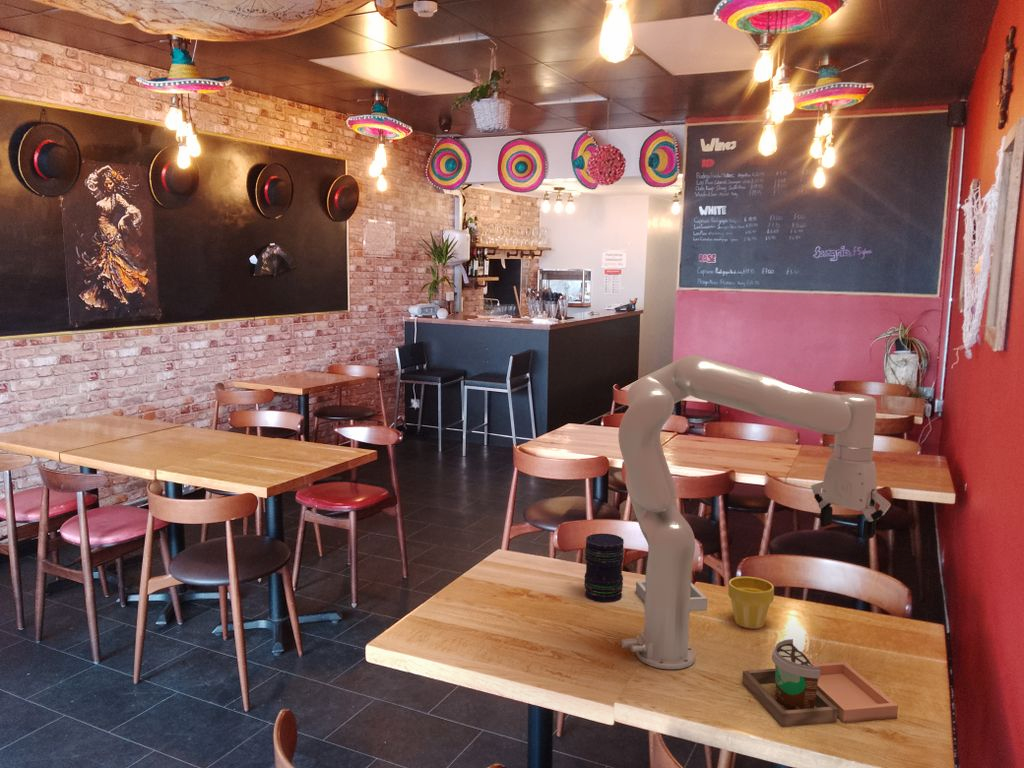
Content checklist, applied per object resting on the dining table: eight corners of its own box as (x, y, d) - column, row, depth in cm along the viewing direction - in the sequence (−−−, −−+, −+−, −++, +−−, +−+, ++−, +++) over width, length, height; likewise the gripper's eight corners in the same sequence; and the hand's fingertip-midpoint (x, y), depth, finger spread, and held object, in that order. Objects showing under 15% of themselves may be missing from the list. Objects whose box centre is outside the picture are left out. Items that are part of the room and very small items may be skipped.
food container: (759, 685, 157) (761, 638, 156) (788, 684, 157) (791, 637, 156) (785, 719, 145) (788, 669, 143) (817, 718, 145) (820, 668, 144)
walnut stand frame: (781, 726, 142) (782, 714, 142) (742, 682, 158) (742, 670, 158) (836, 721, 144) (837, 709, 144) (792, 678, 160) (792, 667, 160)
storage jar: (624, 589, 205) (625, 535, 203) (620, 604, 195) (622, 547, 193) (586, 586, 207) (588, 532, 205) (581, 600, 198) (582, 544, 196)
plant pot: (731, 610, 193) (732, 572, 191) (774, 618, 188) (776, 580, 187) (722, 627, 183) (724, 587, 182) (768, 636, 179) (770, 595, 178)
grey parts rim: (653, 613, 191) (653, 601, 190) (635, 592, 203) (636, 581, 203) (706, 609, 193) (707, 598, 193) (686, 589, 206) (687, 578, 205)
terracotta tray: (843, 722, 144) (844, 710, 144) (795, 676, 160) (796, 665, 160) (897, 717, 146) (898, 705, 145) (844, 673, 162) (844, 661, 162)
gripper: (805, 447, 168) (800, 524, 170) (883, 463, 154) (876, 546, 157) (825, 444, 173) (820, 518, 175) (902, 459, 159) (895, 540, 161)
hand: (846, 531), depth 166 cm, fingers open, 9 cm apart
